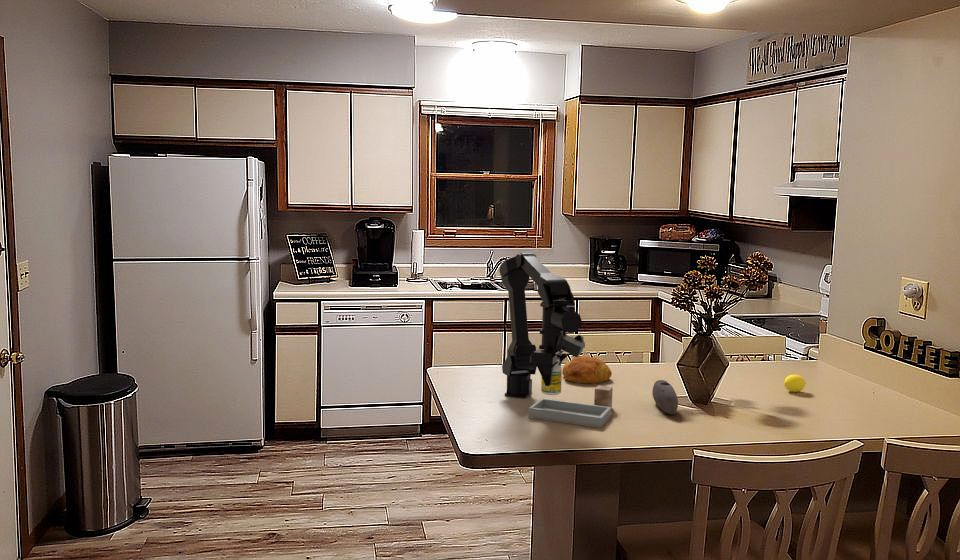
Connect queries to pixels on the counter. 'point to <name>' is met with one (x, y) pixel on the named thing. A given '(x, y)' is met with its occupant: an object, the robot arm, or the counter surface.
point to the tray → (570, 412)
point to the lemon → (794, 383)
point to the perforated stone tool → (665, 396)
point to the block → (603, 396)
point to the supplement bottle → (553, 381)
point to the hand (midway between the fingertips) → (550, 383)
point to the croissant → (586, 370)
